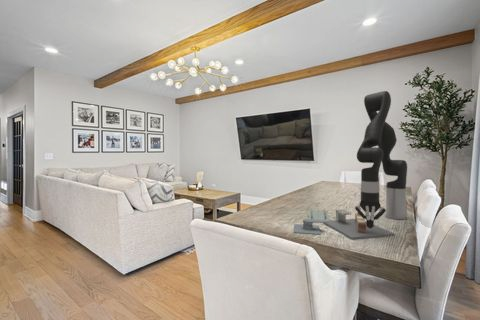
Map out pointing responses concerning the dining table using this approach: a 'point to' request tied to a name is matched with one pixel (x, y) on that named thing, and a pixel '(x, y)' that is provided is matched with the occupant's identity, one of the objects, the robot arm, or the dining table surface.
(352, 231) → the base plate
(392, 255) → the dining table surface
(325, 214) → the metal bracket
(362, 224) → the brass latch lever
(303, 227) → the shower valve
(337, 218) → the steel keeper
